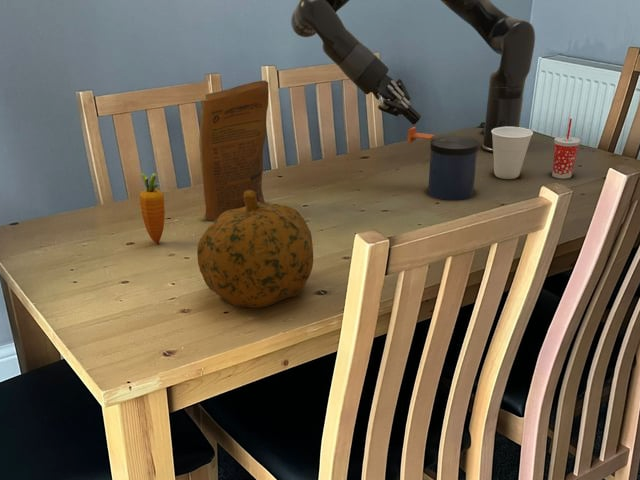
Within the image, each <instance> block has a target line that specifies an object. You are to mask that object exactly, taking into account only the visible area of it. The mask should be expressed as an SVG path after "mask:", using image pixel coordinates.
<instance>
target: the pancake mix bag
mask: <svg viewBox="0 0 640 480" xmlns="http://www.w3.org/2000/svg"><path fill="white" fill-rule="evenodd" d="M269 87H270V85H269V81H267V80H265V79H264V80H258V81H252V82H248V83H243V84H240V85H237V86H235V87H232V88H229V89H223V90H218V91H215V92H210V93H207V94H204V96H205V99H203V100H201V101H200V109H199V110H200V112H199V137H198V138H199V139H198V140H199V143H198V144H199V162H200V168H201V176H202V177H201V178H202V190H203V198H204V199H203V200H204V205H205V215H204V220H208V221H216V220H217V218H218V217H219V216H220V215H221V214H222V213H223V212H225V211H228V210H231V209H238V208H242V207H245V206H246V205H245V202H244V197H243V194H244V192H245V191H246V190H253V191H254V192H255V194H256V198H257V201H258V202H260V203H264V204H266V202H265V197H264V194H263V172H264V146H265V140H266V135H267V119H268V117H267V115H268V107H269V90H270V89H269Z"/></svg>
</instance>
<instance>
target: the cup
mask: <svg viewBox="0 0 640 480" xmlns="http://www.w3.org/2000/svg"><path fill="white" fill-rule="evenodd" d="M491 132H492V139H493V152H492V153H493V157H492V158H493V174H494V175H495V177H497V178H498V179H502V180H514V179H517V178H519V176H520V175H521V172H522V167H523V165H524V161H525V158H526V155H527V152H528V148H529V146H530V142H531V139H532V136H533V135H534V132H533V130H531V129H528V128H527V127H521V126H520V127H498V128H495V129H493V130H492V131H491Z"/></svg>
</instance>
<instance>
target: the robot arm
mask: <svg viewBox="0 0 640 480" xmlns="http://www.w3.org/2000/svg"><path fill="white" fill-rule="evenodd" d="M349 1H350V0H299V1H298V4H297V5H296V7H295V8H294V10H293V12H292V14H291V19H290V25H291V28H292V31H293V32H294V33H295V34H296V35H297V36H299V37H301V38H310V37H313V36H315V35H318V37H319V38H320V40H321V41H322V48H321V49H322V51H323V52H324V54H325V55H326V56H327V57H328V58H329V59H330V60H331V61H332V62H333V63H334V64H335V65H336V66H338V68H339V69H340V70H341V71H342V73H343V74H344V75H345V76H346V77H347V78H348V79H349V80H350V81H351V82H352V83H353V84H354V85H355V86H356V87H357V88H358V89H360V91H362V92H363V93H364V95H370V94H371V93H372V95H373V96H374V98H375V99H376V100H378V102H379V105H378V106H377V108H378V110H379V111H381V112H384V113H386V114H389V115H392V116H395V117H398V116H401V115H402V116H403V117H404V118H405V119H406V120H407V121H408V122H409V123H411V125H412V126H413V125H414V126H415V125H416V124H417V123H418V122H419V121H420V119H421V117H422V116H421V114H420V113H419V112H418V111H417V110H416V109H414V108H413V106H412V105H411V102H410V101H411V96H410V94H409V92H408V90H407V88H406V86H405V84H404V82H403V80H402V79H401V78H398V79H397V80H396V81H395V80H394V79H393V78H392V77H390V76H389V75H387V74H388V73H389V70H390V69H389V67H388V66H387V65H386V64H385V63H384V62H383V61H382V60H380V58H379V57H378V56H377V55H376V54H374V52H373V51H372V50H371V49H370V48H368V47H367V46H366V45H364V44H363V42H361V41H360V40H359V39H358V38H357V37H356V36H355V35H354V34H353V33H351V32H350V30H348V29H347V27H346V26H345V25H344V23H343V21H342V19H341V18H340V16H339V15H338V14H337V12H338V11H340V10H341V8H343V7H344V6H345V5H346V4H348V2H349ZM440 2H441V3H443V4H444V5H445V6H446V7H447V8H448V9H449V10H451V11H452V12H453V13H454V14H455V15H457V16H458V17H459V18H460V19H461V20H463V21H464V22H466V24H468V25H470V26H471V27H472V28H473V29H474V30H475V32H477V33H478V35H479V36H480V37H481V38H482V40H483V41H484V42H485V43H486V45H488V46H489V48H490V49H491V50H492V51H493V52H495V53H496V54H497V55H500V62H499V66H498V68H497V69H496V70H493V71H492V72H491V73H490V74H489V75H490V76H489V84H488V94H487V95H488V96H487V104H486V111H485V112H486V114H485V121H482V122H480V123H479V127H483V126H484V128H483V129H481V133H482V134H483V140H482V146H481V148H482V150H484V151H487V152H490V153H493V139H492V132H491V131H492V130H493V129H495V128H498V127H521V126H520V125H521V120H522V119H521V118H522V112H523V111H522V110H523V103H524V95H525V87H526V81H527V78H528V76H529V74H530V72H531V67H532V62H533V56H534V51H535V45H536V44H535V43H536V32H535V28H534V26H533V25H532V23H531V22H529V21H527V20H525V19H520V18H516V17H512V16H510V15H508V14H506V13H505V12H503V11H502V10H501V9H499V7H498V6H496V5H495V4H494V3H493V2H492V1H491V0H440Z"/></svg>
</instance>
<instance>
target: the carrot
mask: <svg viewBox="0 0 640 480" xmlns="http://www.w3.org/2000/svg"><path fill="white" fill-rule="evenodd" d="M157 176H158V174H156V173H152V174H151V176H150V179H149V177H148V176H146V175H145V173H142V174H141V177H142V179H143V181H144V186H145V188H146V189H144V190H142V191H141V193H140V194H139V203H140V211H141V216H142V220H143V223H144V226H145V229H146V232H147V233H148V235H149V237H150V239H151V240H152V242H153V243H155V244H156V245H158V244H159V243H160V240H161V239H162V236H163V233H164V228H165V219H166V217H165V216H166V211H165V210H166V209H165V196H164V192H163V191H162V190H160V189H157V187H158V186H159V183H158V182H156V179H157Z"/></svg>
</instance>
